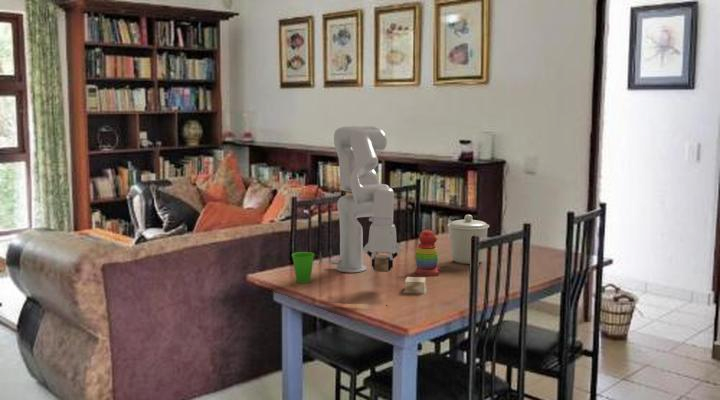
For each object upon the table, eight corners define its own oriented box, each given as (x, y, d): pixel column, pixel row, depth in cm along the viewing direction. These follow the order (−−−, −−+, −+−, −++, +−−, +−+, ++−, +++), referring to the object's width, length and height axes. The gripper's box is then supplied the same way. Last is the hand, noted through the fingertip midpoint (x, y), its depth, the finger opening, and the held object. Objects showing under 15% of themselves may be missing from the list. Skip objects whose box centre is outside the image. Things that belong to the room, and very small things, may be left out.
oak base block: (404, 292, 257) (405, 281, 257) (406, 287, 264) (406, 276, 263) (424, 293, 256) (424, 282, 255) (425, 288, 263) (425, 277, 262)
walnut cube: (374, 271, 260) (374, 258, 259) (376, 267, 265) (376, 254, 264) (387, 272, 259) (388, 259, 258) (389, 268, 264) (389, 255, 263)
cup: (297, 285, 271) (296, 257, 270) (288, 280, 279) (288, 253, 278) (318, 283, 276) (318, 255, 274) (309, 277, 284) (309, 251, 282)
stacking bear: (438, 276, 286) (439, 232, 283) (413, 275, 288) (414, 232, 285) (440, 269, 296) (441, 228, 294) (416, 268, 298) (417, 227, 296)
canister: (460, 268, 299) (461, 219, 296) (439, 259, 316) (440, 213, 313) (496, 264, 306) (497, 216, 303) (473, 255, 323) (474, 210, 320)
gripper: (358, 222, 256) (357, 270, 260) (405, 224, 254) (403, 273, 257) (361, 218, 264) (361, 265, 267) (407, 220, 261) (406, 267, 264)
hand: (382, 268), depth 262 cm, fingers closed on walnut cube, 5 cm apart
